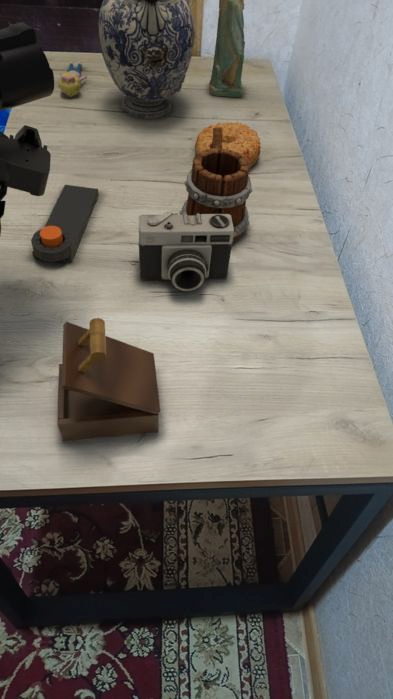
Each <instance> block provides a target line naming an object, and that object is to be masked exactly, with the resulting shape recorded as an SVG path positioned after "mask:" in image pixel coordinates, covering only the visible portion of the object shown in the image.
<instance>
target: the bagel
mask: <svg viewBox="0 0 393 699" xmlns="http://www.w3.org/2000/svg"><path fill="white" fill-rule="evenodd" d="M214 127H221V128H222V135H223V137H222V149H229V150H232V151H235V152H237V153H239V154H240V155H242V158H245V159H246V160H247V161H248V163H249V169H250V168H251V167H253V165H255V163H256V162H257V161H258V159H259V156H260V155H261V147H262V146H261V138H260V137H259V135H258V132H257V131H256V130H255V129H252V128H251V127H250V126H248V125H246V124H244V123H243V122H239V121H238V122H231V121H230V122H229V121H227V122H223V123H221V122H218V123H216V124H211V125H208V126H207V127H204V129H202V130H201V131H200V132H199V133H198V135H196V136H195V137H196V141H195V144H194V146H195V153H196V155H197V154H199V153H200V152H202V151H204V150H207V149H210V144H211V143H212V140H213V128H214Z"/></svg>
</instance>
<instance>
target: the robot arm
mask: <svg viewBox="0 0 393 699" xmlns="http://www.w3.org/2000/svg"><path fill="white" fill-rule="evenodd" d="M54 91H55V75H54V71H53V69H52V68H51V66H50V62H49V61H48V58H47V55H46V53H45V52H44V50H43V48H42V46H41V44H39V42H38V40H37V35H36V30H35V29H34V28H33V27H31V26H30V25H28V24H26V23H25V22H23V21H21V22H16V23H13V24H11V25H9V26H7V27H5V28H1V29H0V111H1V112H4V111H7V110H10V109H13V108H16V107H20V106H23V105H26V104H28V103H31V102H35V101H38V100H41V99H44V98H48V97H50V96H52V94H53V93H54ZM51 158H52V155H51V152H50V151H49V150H48V145H46V144H43V142H42V139H41V136H40V133H39V129H38V128H36V127H32V126H30V125H26V124H25V125H23V126H22V127H21V128H20V129H19V130H18V131H17V132H16V134H15V135H14V134H9V136H8V135H6V134H5V133H4V132H2V131H1V130H0V236H1V234H2V222H1V221H2V220H1V219H2V218H3V217H4V215H5V209H6V202H7V200H3V199H4V198H5V196H6V195H7V194H8V188H10V189H14V190H16V191H17V190H18V191H22V192H26V193H28V194H29V195H31V196H34V197H42V196H44V195H45V192H46V188H47V183H48V179H49V177H50V171H51Z"/></svg>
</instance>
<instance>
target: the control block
mask: <svg viewBox="0 0 393 699" xmlns="http://www.w3.org/2000/svg"><path fill="white" fill-rule="evenodd" d="M99 196H100V193H99V188H96V187H95V188H93V187H87V186H79V185H71V184H64V185H63V187H62V190H61V192H60V193H59V196H58V198H57V200H56V201H55V204H54V206H53V208H52V210H51V212H50V214H49V216H48V219H47V220H46V223H45V224H44V227H47V226H57V227H59V228H60V229H61V231H62V236H63V243H62V244H61V245H60V246H58V247H53V248H50V247H45V246H44V245H43V244H42V241H41V237H40V231H41V230H42V229H43V228H44V227H42V228H41V229H38V230H37V231H35V232H34V233H33V234H32V237H31V239H30V242H31V246H32V257H33V258H34V259H39V260H41V261H43V262H52V263H55V262H61V263H62V262H63V263H72V262H73V260H74V258H75V255H76V252H77V250H78V247H79V245H80V242H81V240H82V237H83V234H84V232H85V230H86V227H87V224H88V222H89V220H90V217H91V215H92V213H93V210H94V208H95V205H96V202H97V200H98V198H99Z"/></svg>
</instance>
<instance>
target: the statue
mask: <svg viewBox="0 0 393 699" xmlns="http://www.w3.org/2000/svg"><path fill="white" fill-rule="evenodd" d="M244 1H245V0H218V2H219V3H218V17H217V28H216V39H215V47H214V54H213V65H212V70H211V75H210V81H209V93H210V94H211V95H212V96H216V97H230V98H241V97H242V94H243V86H242V85H243V84H242V77H243V76H242V74H243V68H244V61H245V46H246V42H245V33H244V32H245V31H244V28H245V18H244V10H245V2H244Z"/></svg>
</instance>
